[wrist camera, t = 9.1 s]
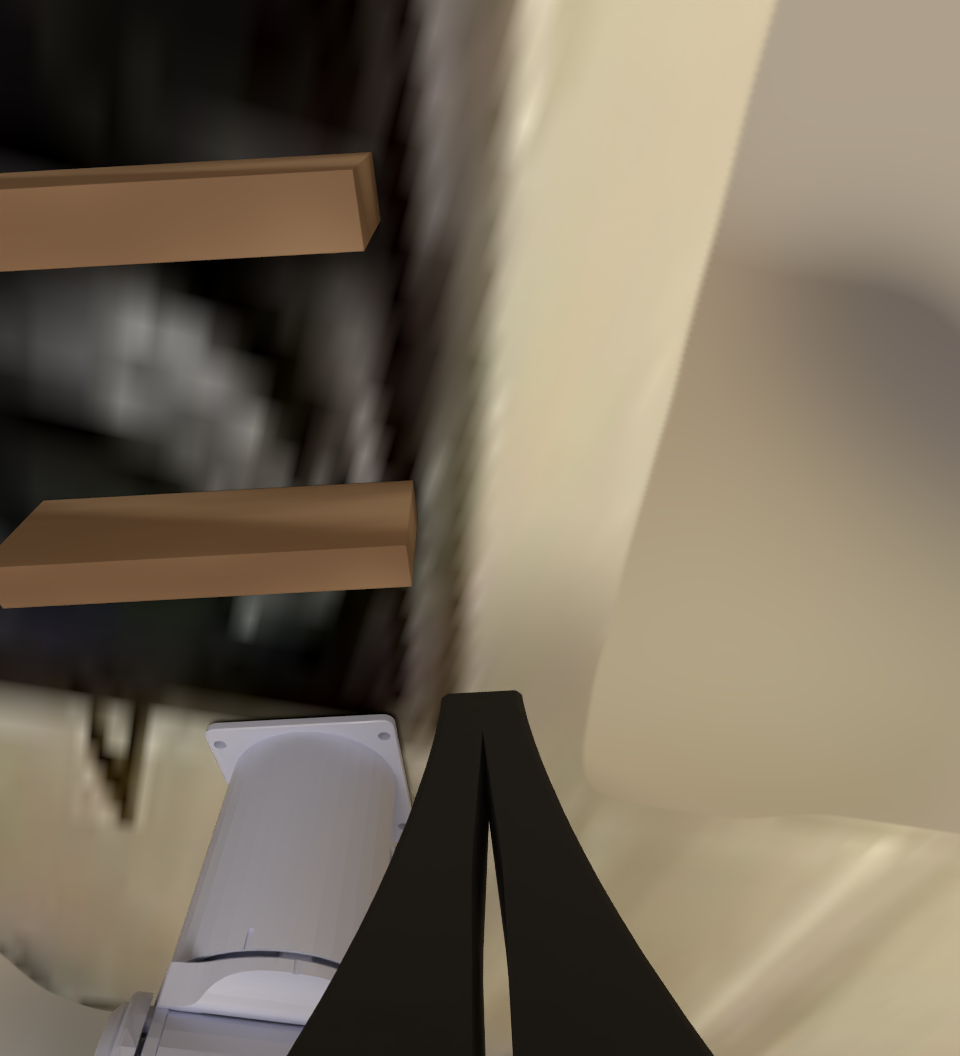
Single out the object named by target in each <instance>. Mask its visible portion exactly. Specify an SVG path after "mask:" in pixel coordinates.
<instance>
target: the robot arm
mask: <svg viewBox="0 0 960 1056" xmlns="http://www.w3.org/2000/svg"><path fill="white" fill-rule="evenodd" d="M205 738H206V740H207V742H208V744H209V746H210V748H211V751H212V753H213V755H214V757H215V759H216V761H217V763H218V765H219V768H220V770H221V772H222V774H223V776H224V778H225V780H226V782H227V785H228V789H227V792H226V795H225V798H224V801H223V804H222V807H221V810H220V813H219V816H218V819H217V823H216V826H215V829H214V832H213V835H212V838H211V841H210V844H209V847H208V850H207V853H206V857H205V860H204V863H203V866H202V869H201V872H200V875H199V878H198V881H197V884H196V887H195V891H194V894H193V897H192V900H191V903H190V906H189V909H188V912H187V915H186V918H185V921H184V925H183V928H182V931H181V934H180V937H179V940H178V943H177V946H176V949H175V952H174V955H173V959H172V962H170V964H169V967H168V969H167V972H166V975H165V977H164V980H163V983H162V985H161V988H160V990H159V993H158V996H157V998H156V1001H155V1003H154V1006H150V1004H151V1000H152V997H153V993H150V992H142V991H139V992H136V993H134V994H133V995H132V997H131V999H130V1001H129V1002H125V1003H123V1004H122V1005H121V1006H119V1007H118V1008H117V1009H115V1010H114V1011H113V1012H112V1013H111V1015H110V1017H109V1019H108V1021H107V1024H106V1026H105V1029H104V1031H103V1034H102V1036H101V1039H100V1041H99V1044H98V1046H97V1049H96V1051H95V1054H94V1056H485V1028H484V998H483V947H484V923H485V900H486V877H487V853H488V829H489V824H490V831H491V839H492V847H493V855H494V862H495V870H496V878H497V885H498V893H499V901H500V908H501V916H502V924H503V931H504V939H505V947H506V956H507V966H508V976H509V991H510V1009H511V1027H512V1045H513V1056H714V1055H713V1054H712V1052H711V1051H710V1050H709V1048H708V1047H707V1045H706V1044H705V1043H704V1041H703V1040H702V1038H701V1037H700V1036H699V1034H698V1033H697V1032H696V1030H695V1029H694V1027H693V1026H692V1025H691V1023H690V1022H689V1021H688V1019H687V1018H686V1016H685V1015H684V1013H683V1012H682V1010H681V1009H680V1007H679V1006H678V1004H677V1003H676V1001H675V1000H674V998H673V997H672V995H671V994H670V992H669V991H668V989H667V988H666V987H665V985H664V984H663V982H662V981H661V979H660V978H659V976H658V975H657V973H656V972H655V970H654V969H653V967H652V966H651V964H650V963H649V961H648V960H647V958H646V957H645V955H644V954H643V952H642V951H641V949H640V948H639V946H638V944H637V943H636V941H635V939H634V938H633V936H632V935H631V933H630V931H629V930H628V928H627V927H626V925H625V923H624V922H623V920H622V918H621V917H620V915H619V913H618V912H617V910H616V908H615V907H614V905H613V903H612V902H611V900H610V898H609V896H608V895H607V893H606V891H605V890H604V888H603V886H602V884H601V883H600V881H599V879H598V877H597V875H596V874H595V872H594V870H593V868H592V866H591V864H590V862H589V861H588V859H587V857H586V855H585V853H584V851H583V849H582V847H581V845H580V843H579V841H578V839H577V837H576V835H575V834H574V832H573V830H572V828H571V825H570V823H569V821H568V819H567V817H566V815H565V813H564V811H563V809H562V807H561V804H560V802H559V800H558V798H557V795H556V793H555V791H554V789H553V786H552V784H551V782H550V780H549V777H548V775H547V773H546V770H545V768H544V765H543V763H542V760H541V757H540V755H539V752H538V749H537V747H536V744H535V741H534V738H533V735H532V732H531V729H530V726H529V723H528V719H527V716H526V712H525V708H524V703H523V698H522V694H520V693H519V692H517V691H516V690H512V691H493V692H474V693H455V694H447V695H446V696H444V697H443V698H442V701H441V709H440V715H439V720H438V724H437V729H436V733H435V737H434V741H433V745H432V748H431V752H430V755H429V758H428V762H427V765H426V768H425V771H424V774H423V777H422V780H421V783H420V786H419V789H418V792H417V795H416V798H415V800H414V803H413V806H411V801H410V796H409V791H408V785H407V780H406V775H405V770H404V765H403V759H402V754H401V749H400V744H399V739H398V733H397V728H396V723H395V720H394V718H392V717H391V716H389V715H386V714H375V715H356V716H337V717H318V718H300V719H281V720H262V721H243V722H224V723H213V724H211V725H209V726H208V728H207V730H206V733H205ZM395 843H398V844H397V846H396V849H395Z"/></svg>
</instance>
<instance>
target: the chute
mask: <svg viewBox="0 0 960 1056" xmlns="http://www.w3.org/2000/svg"><path fill="white" fill-rule="evenodd" d="M380 220H381V219H380V211H379V203H378V195H377V187H376V179H375V171H374V163H373V155H372V152H364V153H347V154H329V155H312V156H294V157H277V158H259V159H242V160H224V161H206V162H189V163H171V164H154V165H136V166H119V167H101V168H84V169H66V170H49V171H31V172H14V173H0V272H2V271H20V270H38V269H55V268H73V267H91V266H109V265H126V264H144V263H162V262H179V261H197V260H215V259H233V258H250V257H268V256H286V255H304V254H321V253H339V252H357V251H364V250H365V248H366V247H367V245H368V243H369V241H370V239H371V237H372V235H373V233H374V232H375V230H376V228H377V226H378V224H379V222H380ZM417 523H418V516H417V508H416V500H415V492H414V484H413V480H412V481H394V482H375V483H357V484H339V485H320V486H302V487H284V488H266V489H247V490H229V491H211V492H192V493H174V494H156V495H138V496H119V497H101V498H83V499H65V500H46V501H43V502H42V503H41V504H40V505H39V506H38V507H37V508H36V509H35V510H34V511H33V512H32V513H31V514H30V515H29V516H28V517H27V518H26V519H25V520H24V521H23V522H22V523H21V524H20V525H19V526H18V527H17V528H16V529H15V530H14V531H13V532H12V533H11V534H10V536H9V537H8V538H7V539H6V540H5V541H4V542H3V543H2V544H1V545H0V605H1V606H2V608H19V607H38V606H56V605H75V604H93V603H112V602H130V601H149V600H167V599H186V598H205V597H223V596H242V595H260V594H279V593H297V592H316V591H334V590H353V589H371V588H390V587H408V586H412V578H413V567H414V556H415V545H416V534H417Z"/></svg>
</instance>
